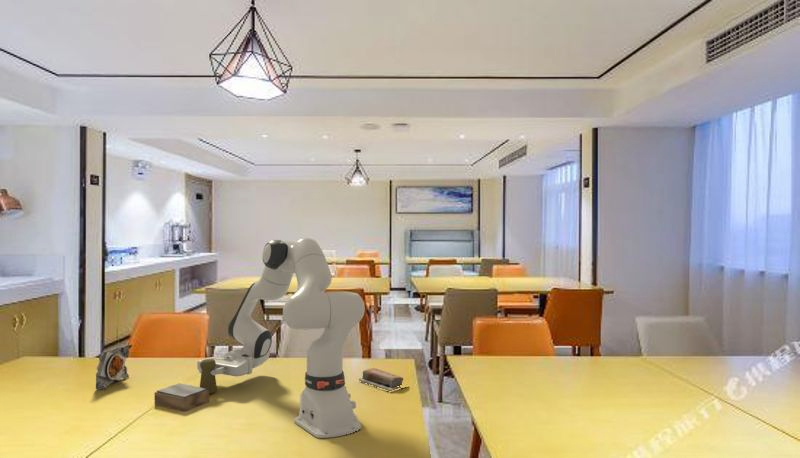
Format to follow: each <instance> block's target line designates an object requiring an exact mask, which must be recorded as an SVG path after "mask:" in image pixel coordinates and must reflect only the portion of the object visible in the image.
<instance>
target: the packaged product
mask: <svg viewBox="0 0 800 458" xmlns="http://www.w3.org/2000/svg"><path fill="white" fill-rule="evenodd" d="M359 381H361V382H364V383H367V384H370V385H373V386H376V387H379V388H382V389H385V390H388V391H392V390H395V389H398V388H401V387H400V385H402V383H403V381H404V378H403V377H402V376H399V375H397V374H394V373H391V372H387V371H385V370H382V369H378V368H376V367H375V368H374V367H371V368H368V369H364V370H363V371H362V378H359V379H358V382H359ZM361 382H360V383H361ZM364 383H363V384H364ZM397 386H399V387H397Z"/></svg>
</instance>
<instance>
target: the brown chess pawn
mask: <svg viewBox="0 0 800 458" xmlns="http://www.w3.org/2000/svg"><path fill="white" fill-rule="evenodd" d="M204 359H205V358H204ZM215 366H216V362H215V360H213V359H205V360H202V361H201V363H200V367H201V369H202V372H201V373H200V374H201V375H200V381H199V387H201V388H206V389H207V390H209V394H210V393H211V394H212V393H215V392H217V391H218V387H217V379H216V375H210V370H212V369H214V368H215Z"/></svg>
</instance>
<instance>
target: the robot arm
mask: <svg viewBox="0 0 800 458" xmlns="http://www.w3.org/2000/svg"><path fill="white" fill-rule="evenodd" d="M262 262H263V264H264V268H263V271H262V273H261V276H260V278H259V280H257V281H254V282H252V284H251V285H250V286H249V288H248V289H247V291H246V292H245V295H244V297H243V298H242V300H241V303H240V305H239V307H237V310H236V313H235V314H234V316H233V317H232V318H231V320H230V321H229V323H228V326H227V332H228V336H229V337H230V338H231V339H233V340H236V342H237V341H238V342H239V343H240V344H242V345H243V347H241V348H239V349H234V350H231V351H227V353H225V354H224V356H223V357H217V356H211V357H206V358H202V359H199V360H197V365H196V367H197V370H198V371H199V372H198V373H199V374H201V372H202V369H201V367H200V363H201V361H202V360H205V359H213V360H215V362H216V366H215V368H214V369H212V370H210V375H215V376H216V375H224V376H231V377H242V376H245V375H251V374H252V373H253V369H255V368H258V367H259V366H262V365H263V364H264V363H266V362H267V361H268V360H269V358H270V355H271V350H270V348H271V346H272V342H273V339H272V338H273V337H272V333H271V331H270V330H269V329H267V328H266V327H265V326H263V325H261V324H260V323H258V322H257V321H255V320H254V319H253V318H252V316H251V315H252V313H253V311H254V310H255V308H256V305H257V304H258V301H259V300H262V301H263V300H264V301H275V300H280V299H281V298H283V297H284V296H285V295H287V292H288V291H289V289H290V285H291V283H292V279H293V276H294V274H295V277H296V281H297V289H296V291H295V293H293V294H292V295H291V296H290V297H288V298H287V299H286V301H285V303H284V305H283V307H282V315H283V316H282V317H283V320H284V322H285V324H286V326H288V327H289V328H290V329H293V330H304V331H307V330H316V329H317V330H319V329H324V330H323V332H322V333H321V335H320V336H319V337H318V338H317V339H315V340H313V341H312V342H310V344H309V346H308V347H307V349H306V372H305V376H304V384H305V388H303V390H302V392H301V393H300V396H299V398H300V399H299V412H298V414H299V415H298V416H296V417H295V418H294V423H295V424H296V425H297V426H299V427H301V428H302V429H303V430H305V431H307V432H308V433H310V434H311V435H312V436H313V437H315V438H316V439H317V438H320V439H324V438H325V439H327V438H335V437H336V438H337V437H341V436H347V435H350V433H351V434H354V433H356V432H355V431H357V432H359V431H360V430H362V425H361V423H360V421H359V418H358V417H357V415H356V413H355V411H354V410H355V409H356V408H357V405H356V404H357V402H356V401H355V400H351V397H352V396H351V393H349V392H348V390H347V386H345V385H346V380H345V379H346V377H345V372H344V370H343V359H344V348H345V344H346V341H347V339H348V336H349V335H350V333H351V331H352V330H353V328H355V326H357V325H358V324H359V322H361V321H362V319H363V317H364V315H365V311H366V310H365V309H366V308H365V302H364V300H363V298H362V297H361V295H360V294H359V293H357V292H351V291H344V290H343V291H326V290H327V289H328V288H329V287H330V285H331V283H332V279H333V276H332V272H331V269H330V268H329V264H328V261H327V258H326V256H325V254H324V251H323V250H322V248H321V247H320V245H319V244H318V242H317V241H316V240H315V239H313V238H310V237H305V238H301V239H298V240H297V241H291V240H290V241H289V240H281V239H272V240H269V241H267V243H266V244H265V245H264V248H263V251H262ZM325 291H326V292H325ZM359 429H360V430H359ZM358 430H359V431H358ZM353 432H354V433H353ZM346 434H347V435H346Z"/></svg>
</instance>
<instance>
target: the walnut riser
mask: <svg viewBox="0 0 800 458" xmlns="http://www.w3.org/2000/svg"><path fill="white" fill-rule="evenodd" d="M209 395H210V393H209V390H207V389H206V388H201V387H200V386H195V385H191V384H190V385H189V384H186V383H181V382H180V383H176V384H173V385H170V386H167V387H164V388H161V389H158V390H156V391H155V392H154V406H155V405H156V406H160V407H162V408H168V409H172V410H177V411H181V412H188V411H189V410H191V409H194V408H196V407H199V406H202V405H204V404H206V403H209V401H210V400H209V397H210V396H209Z"/></svg>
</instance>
